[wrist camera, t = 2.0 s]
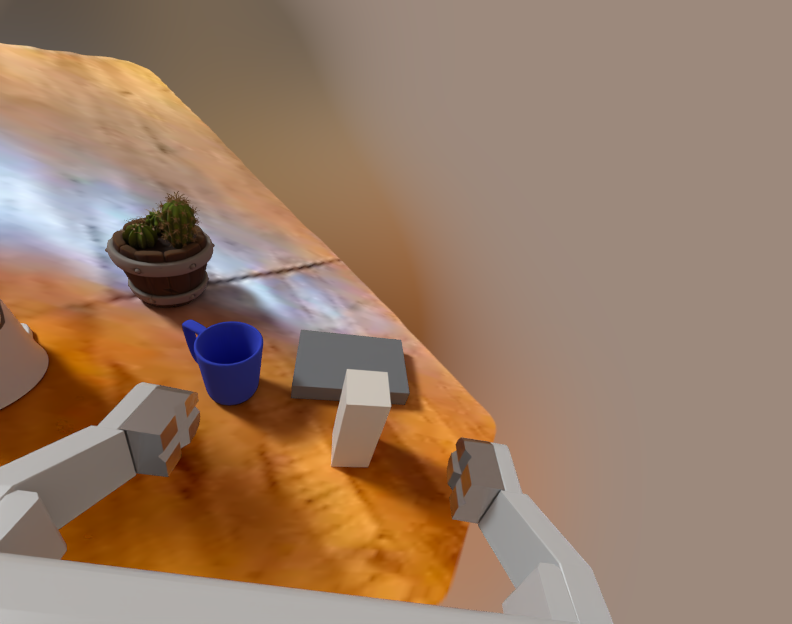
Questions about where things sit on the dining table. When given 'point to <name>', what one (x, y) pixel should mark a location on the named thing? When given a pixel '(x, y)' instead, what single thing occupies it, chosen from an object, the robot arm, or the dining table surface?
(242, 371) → the mug
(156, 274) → the flowerpot
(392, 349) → the block
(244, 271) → the dining table surface
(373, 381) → the block
